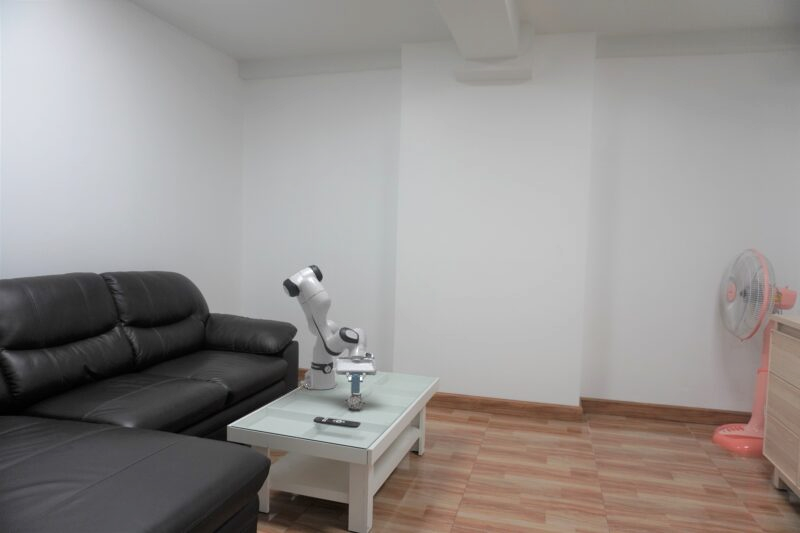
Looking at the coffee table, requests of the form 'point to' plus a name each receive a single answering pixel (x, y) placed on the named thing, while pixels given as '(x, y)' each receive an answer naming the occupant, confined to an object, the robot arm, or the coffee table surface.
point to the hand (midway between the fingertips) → (355, 381)
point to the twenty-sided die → (355, 401)
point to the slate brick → (355, 383)
